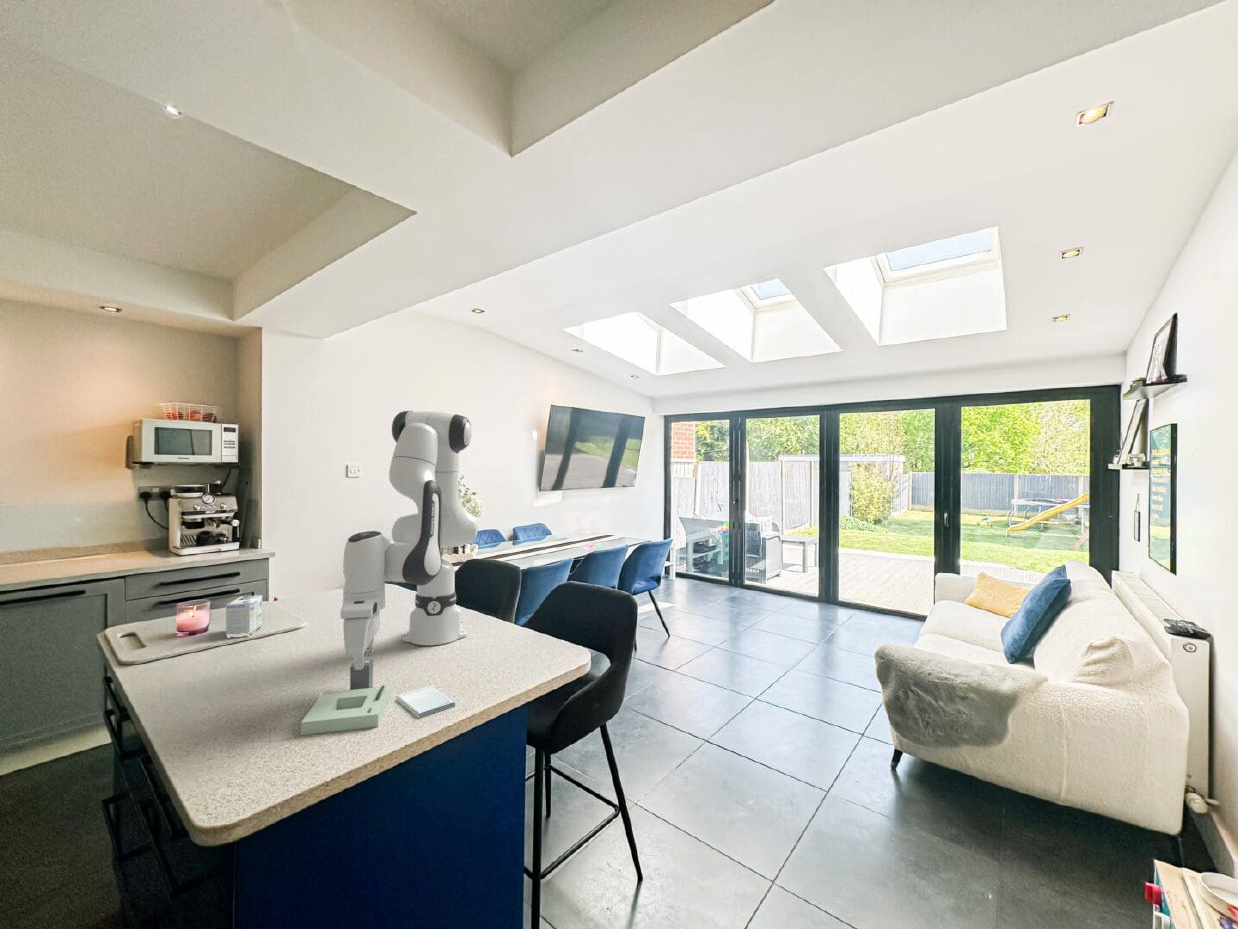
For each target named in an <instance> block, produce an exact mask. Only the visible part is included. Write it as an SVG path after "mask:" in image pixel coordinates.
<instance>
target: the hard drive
mask: <svg viewBox="0 0 1238 929" xmlns="http://www.w3.org/2000/svg"><path fill="white" fill-rule="evenodd" d="M396 702H399V704H401V705H402V706H403V707H404V706H405V707H404V708H406V709H407V710H408V711H409V712H410V711H411V712H410V713H411V714H412V715H414V716H415V717H416V718H418V719H422V718H425V717H428V716H431V715H433V714H434V715H435V714H436V713H441V712H443V711H446V710H449V709H452V708H454V707H456V702H455V701H454V700H452V699H450V698H449V697H448V696H447V695H445V694H444V693H443V692H441V691H439V690H438V689H436V688H435V687H433V686H431V685H427V686H424V687H421V688H417V689H413V690H411V691H407V692H404V693H400V694H398V695H396Z"/></svg>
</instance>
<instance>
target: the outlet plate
mask: <svg viewBox="0 0 1238 929" xmlns="http://www.w3.org/2000/svg"><path fill="white" fill-rule="evenodd" d="M391 688H392V686H391V685H388V686H385V685H381V686H380V687H379V686H378V687H377V686H376V687H373V688H366V689H355V690H350V689H349V690H348V689H346V690H336V691H335V690H334V691H325V692H322V694H321V695H320V696H319V697H318V699H317V700H316V701H315V703H314V704H313V705H312V707H311V708H310V710H309V711H308V712H307V714H306V715H304V718H303V719H302V720H301V721H300V736H305V735H315V734H323V733H331V732H332V733H333V732H341V731H349V730H351V731H352V730H357V729H358V730H359V729H367V728H377V727H379V726H380V723H381V721H382V719H383V716H384V714H385V711H386V709H387V707H388V704H389V702H390V700H391V697H392V696H391V695H392V690H391Z"/></svg>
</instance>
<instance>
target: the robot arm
mask: <svg viewBox="0 0 1238 929" xmlns="http://www.w3.org/2000/svg"><path fill="white" fill-rule="evenodd" d="M472 430H473V429H472V425H471V421H470V420H469V419H468V417H466V416H463V415H461V414H451V413H447V412H441V411H413V410H404V411H400V412H399V413H397V415H395V416H394V418H393V421H392V423H391V434H392V438H393V440H394V441H395V442H396V445H395V447H394V450H393V454H392V458H391V461H390V466H389V472H388V473H389V474H388V476H389V482H390V484H391V486H392V487H393V488H394V490H396V492H397V493H399V494H401V495H402V496H404V497H406V498H408V499H409V500H412V501H413V502H414V504H415V505H416V507H417V513H413V514H409V515H404V516H401V517H399V518H397V519H396V521H395V522H394V524H392V529H391V537H392V540H391V539H388V538H387V537H385V536H384V535H383V533H382V531H381V532H380V531H376V530H368V531H362V532H358V533H355V534H352V535H351V536H349V537H348V538H347V540H346V542H345V547H344V553H343V566H342V567H343V569H342V570H343V572H342V573H343V576H344V585H343V590H342V606H341V608H340V619H341V620H343V625H342V627H343V641H344V642H343V643H344V650H345V652H346V653H345V654H346V655H352V659H353V663H354V669H355V670H361V669H363V667H364V662H365V660H366V659H365V657H370V656H372V654H373V649H374V648H373V647H374V643H375V642H374V640H375V636H376V635H377V633H378V632H379V630H380V626H381V625H380V624H381V622H380V621H381V620H380V619H381V616H380V611H381V610H383V609H384V608H385V607H386V585H385V582H393V583H406V584H410V585H416V594H415V597H414V601H415V602H414V604H415V605H414V606H415V608H414V609H413V611H411V613H410V615H409V625H408V626H409V627H408V630H409V631H408V633H407V634H405V635H404V636H403V638H402V641H403V642H404V643H405V642H406V643H411V644H413V645H418V646H436V645H437V646H438V645H439V646H440V645H444V644H448V643H449V644H450V643H453V642H454V641H457V640H459V639H463V638H466V637H468V632H467V630H466V629H465V626H464V625H463V624H462V623H463V621H462V619H461V617H462V616H461V609H459V608H460V607H458V606H457V605H456V603H457V593H456V590H455V589H456V587H455V584H456V583H455V580H456V579H455V577H456V574H455V573H456V570H455V567H454V565H453V564H452V563H451V562H449V561H447V560H445V559H443V557H442V551H441V550H442V549H443V548H444V549H445V548H455V547H456V548H457V547H458V548H459V547H462V546H465V545H469V544H472V543H473V542H474V541H475V539H476V538H477V535H478V532H479V524H478V521H477V519H476V517H475V516H474V515H473V514H471V513H470V512H469V511H468V510H467V509H466V508H465V507H464V505H463V503H462V502H461V498H460V494H459V473H460V472H459V470H460V469H459V468H460V460H459V455H460V452H461V451H464V450H465V449H466V448H467V447H468V446H469V444H470V442H471V439H472V435H473V431H472Z"/></svg>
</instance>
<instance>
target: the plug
mask: <svg viewBox="0 0 1238 929" xmlns="http://www.w3.org/2000/svg"><path fill="white" fill-rule="evenodd" d="M349 669H350V673H349V674H350V675H349V690H355V689H366V688H374V687H373V686H374V683H373V682H374V659H365V662H364V667H363V669H361V670H355V669H354V662H353V663H352V664H351V666H350V668H349Z"/></svg>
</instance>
